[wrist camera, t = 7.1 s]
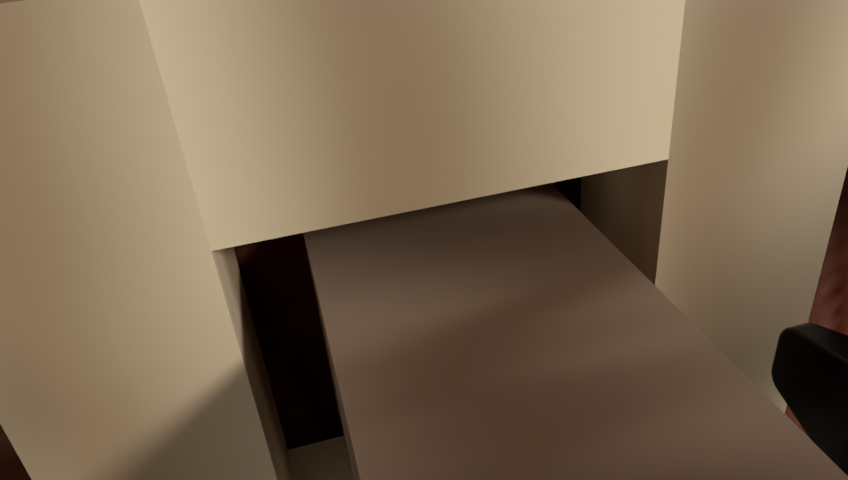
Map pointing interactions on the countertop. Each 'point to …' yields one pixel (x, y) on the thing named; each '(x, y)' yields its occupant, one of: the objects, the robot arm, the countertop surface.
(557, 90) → the square wooden frame
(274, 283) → the countertop surface
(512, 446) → the sliding drawer box
